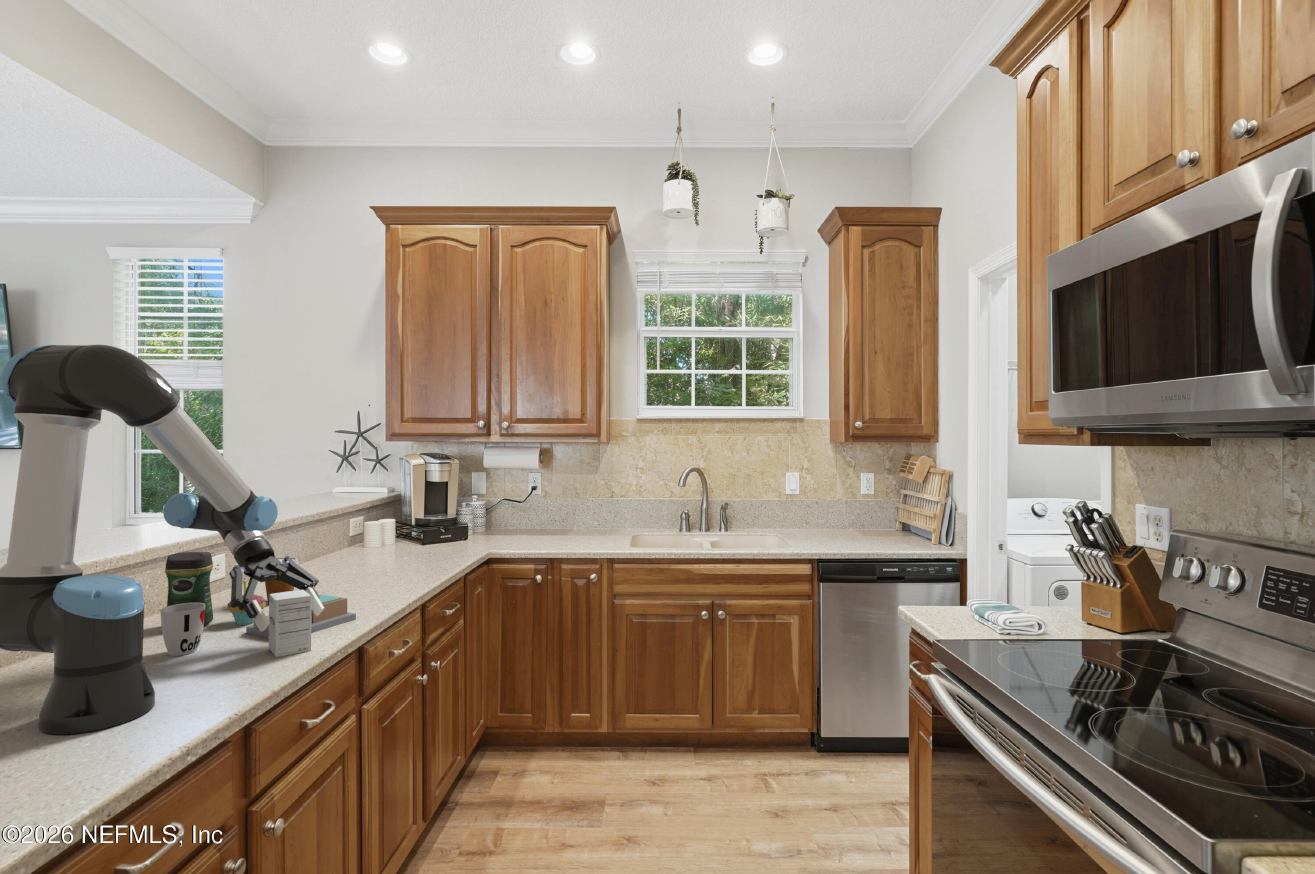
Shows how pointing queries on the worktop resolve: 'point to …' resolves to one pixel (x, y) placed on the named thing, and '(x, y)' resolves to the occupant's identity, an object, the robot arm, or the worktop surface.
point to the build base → (313, 626)
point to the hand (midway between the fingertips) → (294, 619)
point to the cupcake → (241, 615)
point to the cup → (182, 627)
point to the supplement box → (289, 622)
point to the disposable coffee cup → (278, 583)
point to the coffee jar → (190, 580)
